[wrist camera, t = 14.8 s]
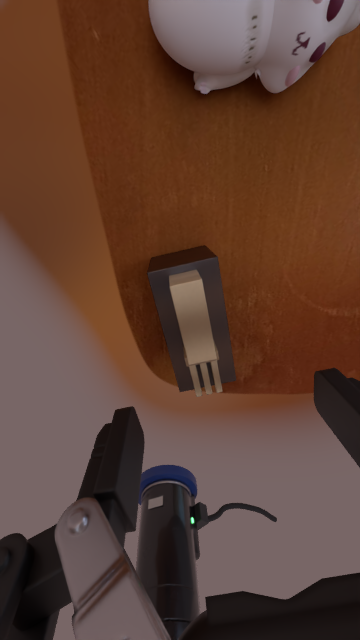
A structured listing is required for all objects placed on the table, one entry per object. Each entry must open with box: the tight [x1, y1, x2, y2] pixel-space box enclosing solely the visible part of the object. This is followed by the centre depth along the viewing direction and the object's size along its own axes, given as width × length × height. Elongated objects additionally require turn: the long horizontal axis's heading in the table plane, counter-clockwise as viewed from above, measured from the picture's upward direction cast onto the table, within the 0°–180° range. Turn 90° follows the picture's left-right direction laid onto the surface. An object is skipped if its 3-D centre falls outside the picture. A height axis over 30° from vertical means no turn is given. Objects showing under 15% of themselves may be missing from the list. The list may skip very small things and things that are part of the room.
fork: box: [169, 270, 222, 397], centre depth 22 cm, size 12×3×3 cm, turn 12°
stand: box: [147, 245, 236, 392], centre depth 26 cm, size 13×6×7 cm, turn 12°
